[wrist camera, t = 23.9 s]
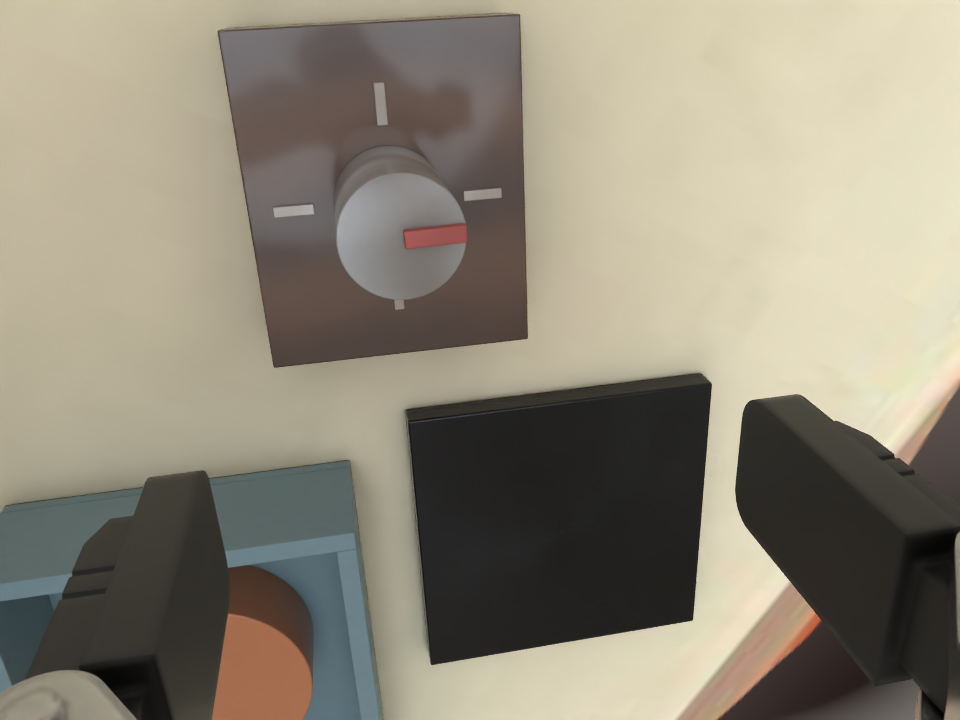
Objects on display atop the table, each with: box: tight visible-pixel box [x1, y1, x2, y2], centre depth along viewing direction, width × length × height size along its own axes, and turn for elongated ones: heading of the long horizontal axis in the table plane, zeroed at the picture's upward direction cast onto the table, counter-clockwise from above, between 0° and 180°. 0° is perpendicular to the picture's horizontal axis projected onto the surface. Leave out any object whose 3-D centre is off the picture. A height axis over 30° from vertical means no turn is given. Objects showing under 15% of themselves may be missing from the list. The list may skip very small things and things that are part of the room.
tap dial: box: [333, 146, 468, 300], centre depth 27 cm, size 4×4×5 cm
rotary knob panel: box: [218, 13, 528, 368], centre depth 30 cm, size 12×10×3 cm
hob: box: [406, 374, 712, 665], centre depth 39 cm, size 14×14×1 cm
